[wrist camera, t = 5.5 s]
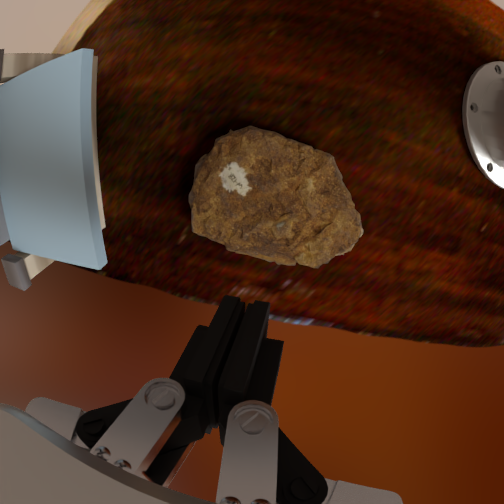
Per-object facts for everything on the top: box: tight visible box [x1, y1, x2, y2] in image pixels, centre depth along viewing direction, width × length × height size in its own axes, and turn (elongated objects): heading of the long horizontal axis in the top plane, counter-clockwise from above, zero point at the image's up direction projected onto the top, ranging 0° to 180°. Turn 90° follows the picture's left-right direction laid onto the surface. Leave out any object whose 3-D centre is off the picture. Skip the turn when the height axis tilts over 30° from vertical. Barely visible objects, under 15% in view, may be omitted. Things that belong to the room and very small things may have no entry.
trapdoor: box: [0, 48, 107, 270], centre depth 16 cm, size 15×14×5 cm
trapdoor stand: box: [0, 49, 106, 291], centre depth 20 cm, size 3×20×13 cm, turn 178°
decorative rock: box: [189, 126, 364, 268], centre depth 24 cm, size 11×4×15 cm
